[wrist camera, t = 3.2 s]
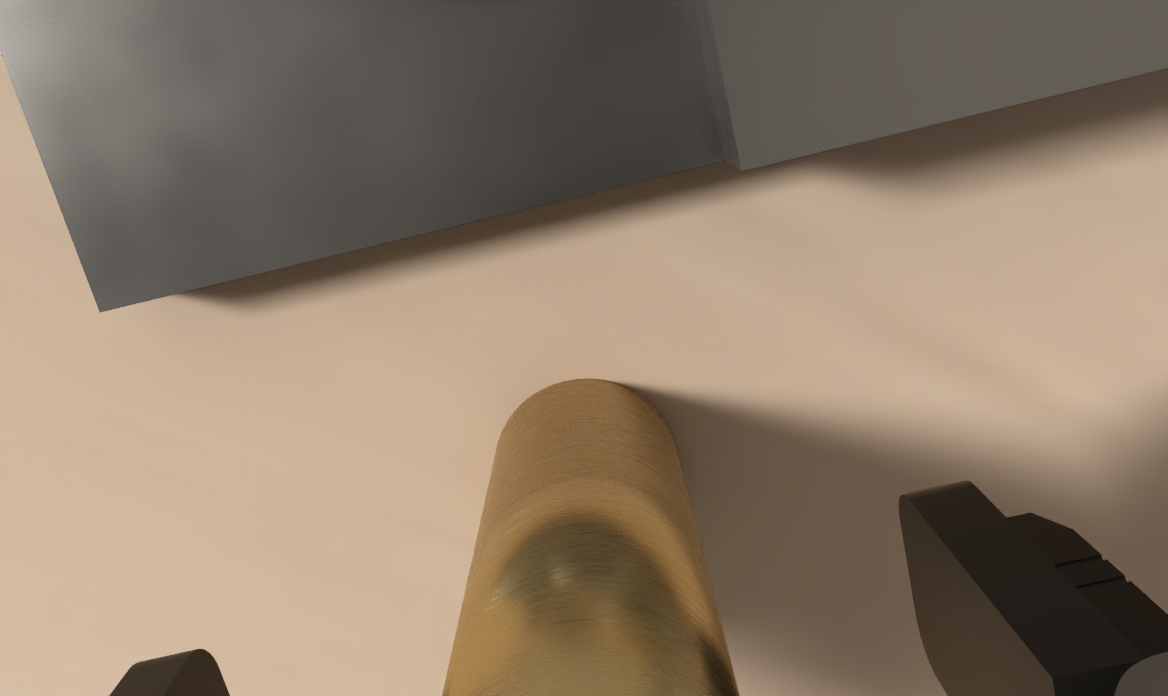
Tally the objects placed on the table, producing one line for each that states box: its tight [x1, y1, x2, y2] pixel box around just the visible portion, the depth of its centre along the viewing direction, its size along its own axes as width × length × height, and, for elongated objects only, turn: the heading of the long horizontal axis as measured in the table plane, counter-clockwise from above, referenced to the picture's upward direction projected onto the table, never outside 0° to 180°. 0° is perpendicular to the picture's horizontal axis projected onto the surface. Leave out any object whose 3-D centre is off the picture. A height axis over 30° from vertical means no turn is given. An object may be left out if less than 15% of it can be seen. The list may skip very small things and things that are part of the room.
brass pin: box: [442, 379, 740, 696], centre depth 12 cm, size 3×3×10 cm
